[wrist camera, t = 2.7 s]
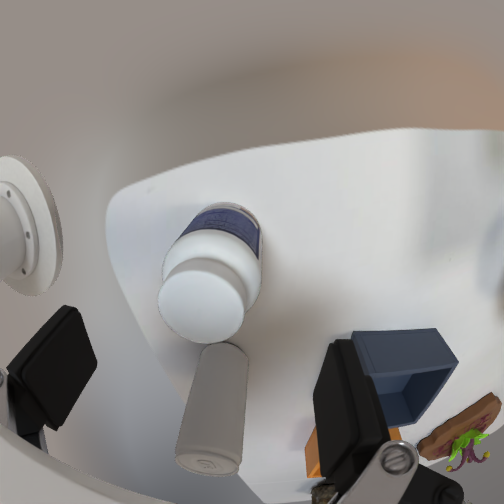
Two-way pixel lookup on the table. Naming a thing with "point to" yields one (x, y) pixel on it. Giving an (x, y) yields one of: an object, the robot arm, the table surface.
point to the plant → (462, 433)
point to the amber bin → (313, 453)
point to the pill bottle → (212, 274)
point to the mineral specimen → (323, 494)
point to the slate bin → (405, 370)
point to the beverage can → (215, 413)
